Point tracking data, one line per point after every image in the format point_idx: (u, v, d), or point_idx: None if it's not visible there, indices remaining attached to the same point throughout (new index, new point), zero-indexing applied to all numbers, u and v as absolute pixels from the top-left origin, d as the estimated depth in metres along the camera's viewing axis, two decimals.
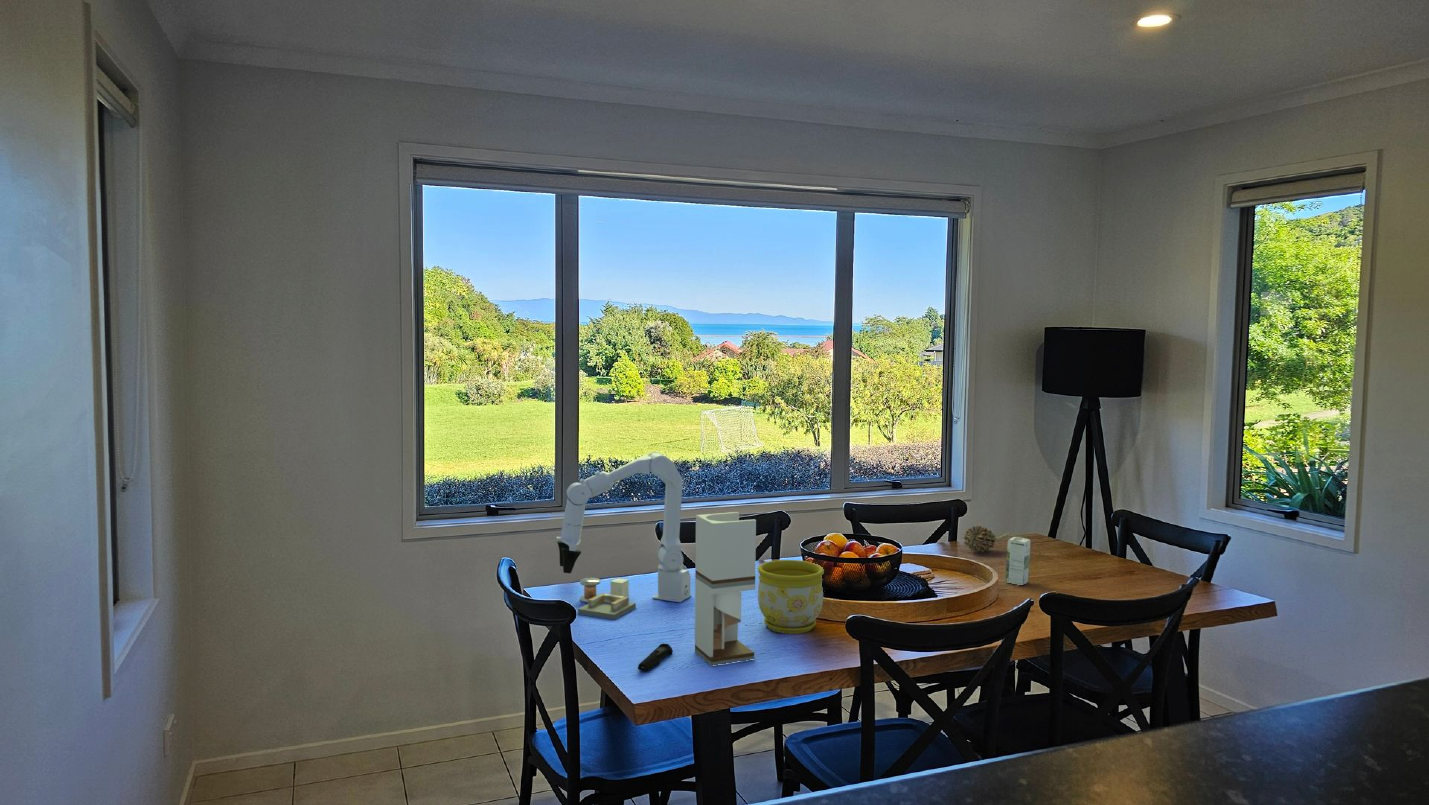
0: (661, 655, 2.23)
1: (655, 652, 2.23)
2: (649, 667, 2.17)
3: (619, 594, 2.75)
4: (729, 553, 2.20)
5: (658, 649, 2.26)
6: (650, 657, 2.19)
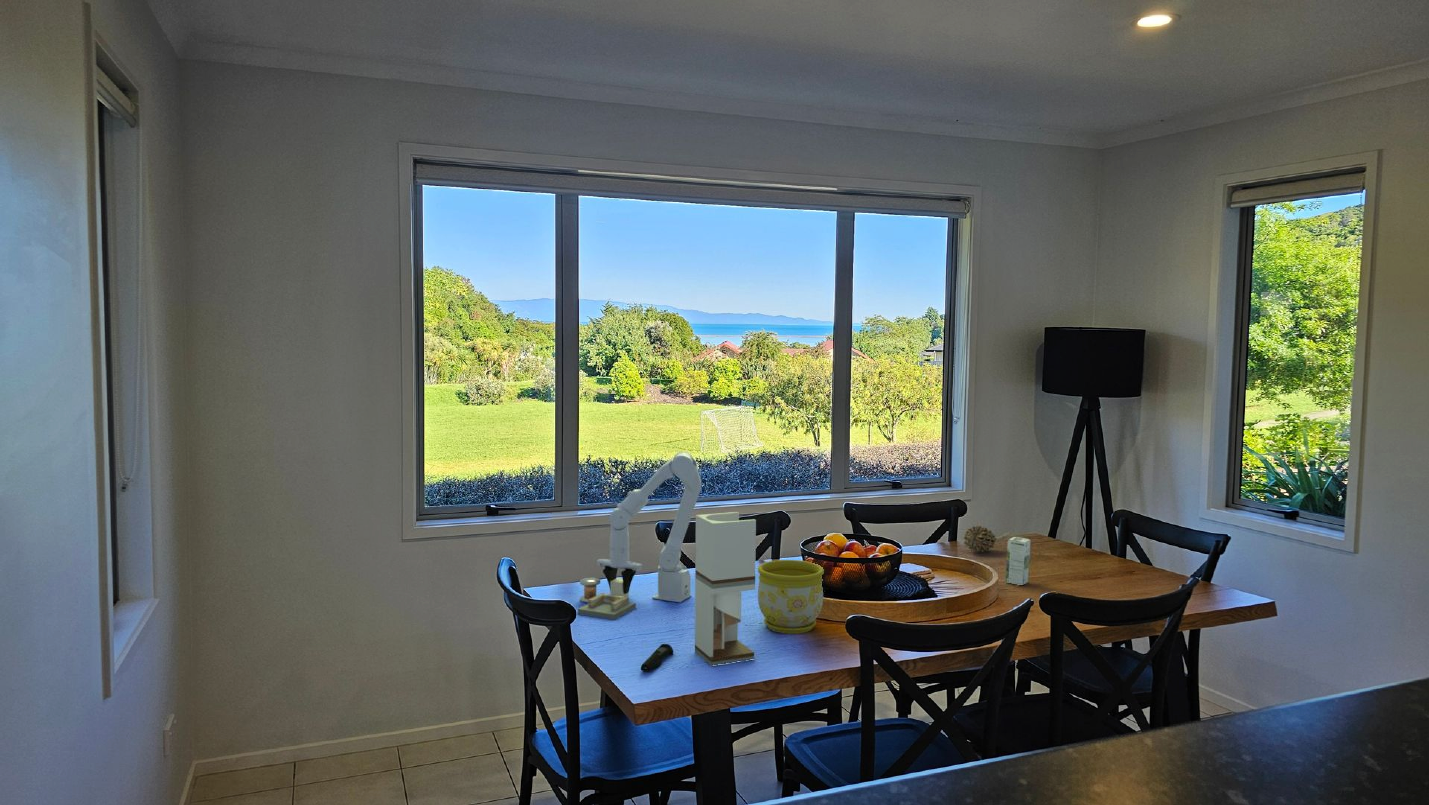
0: (663, 655, 2.23)
1: (657, 652, 2.23)
2: (652, 667, 2.16)
3: (619, 594, 2.75)
4: (729, 553, 2.20)
5: (659, 649, 2.25)
6: (652, 657, 2.19)
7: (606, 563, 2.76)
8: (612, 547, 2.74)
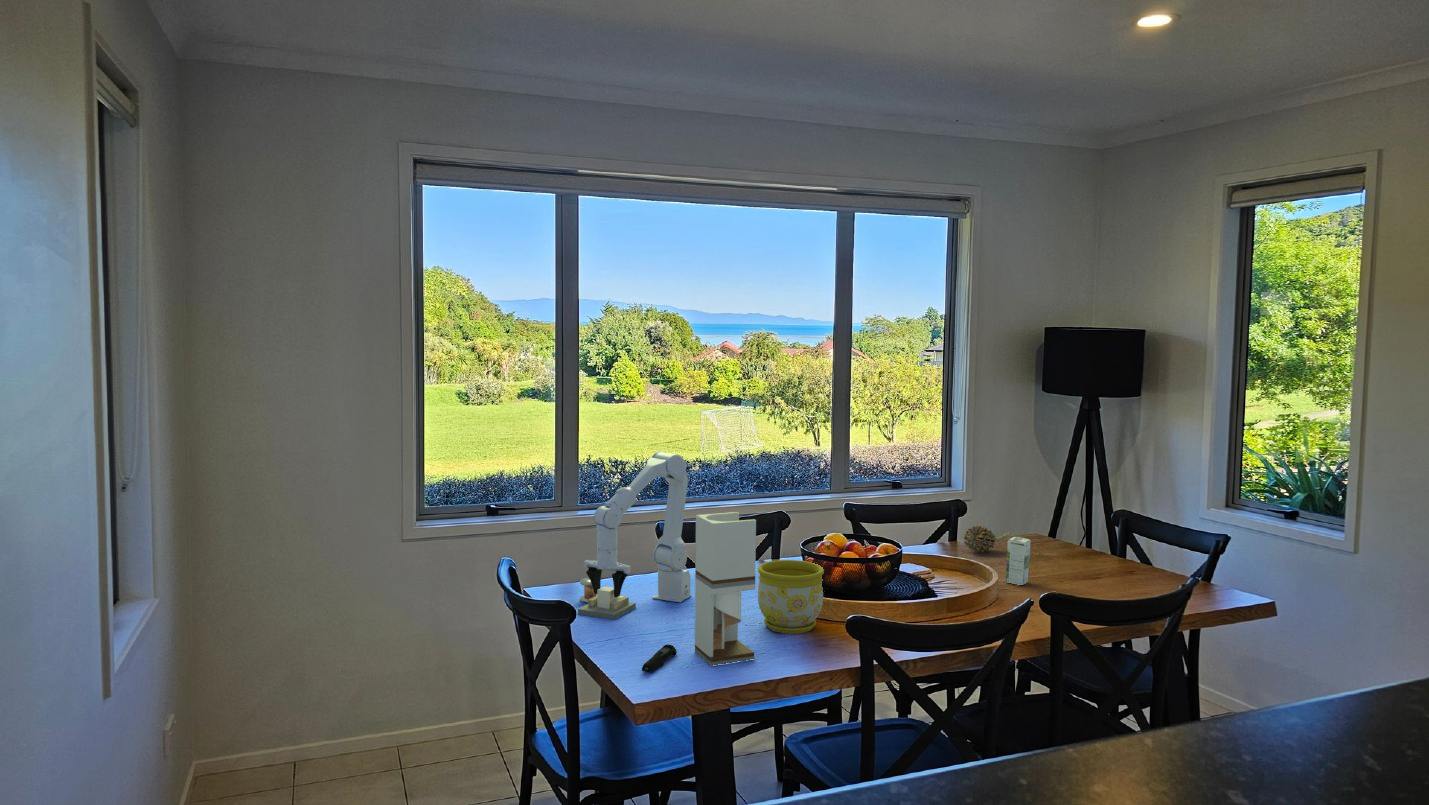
0: (665, 656, 2.22)
1: (659, 653, 2.22)
2: (653, 668, 2.16)
3: (606, 603, 2.60)
4: (729, 553, 2.20)
5: (662, 650, 2.25)
6: (654, 658, 2.19)
7: (593, 564, 2.61)
8: (605, 548, 2.59)
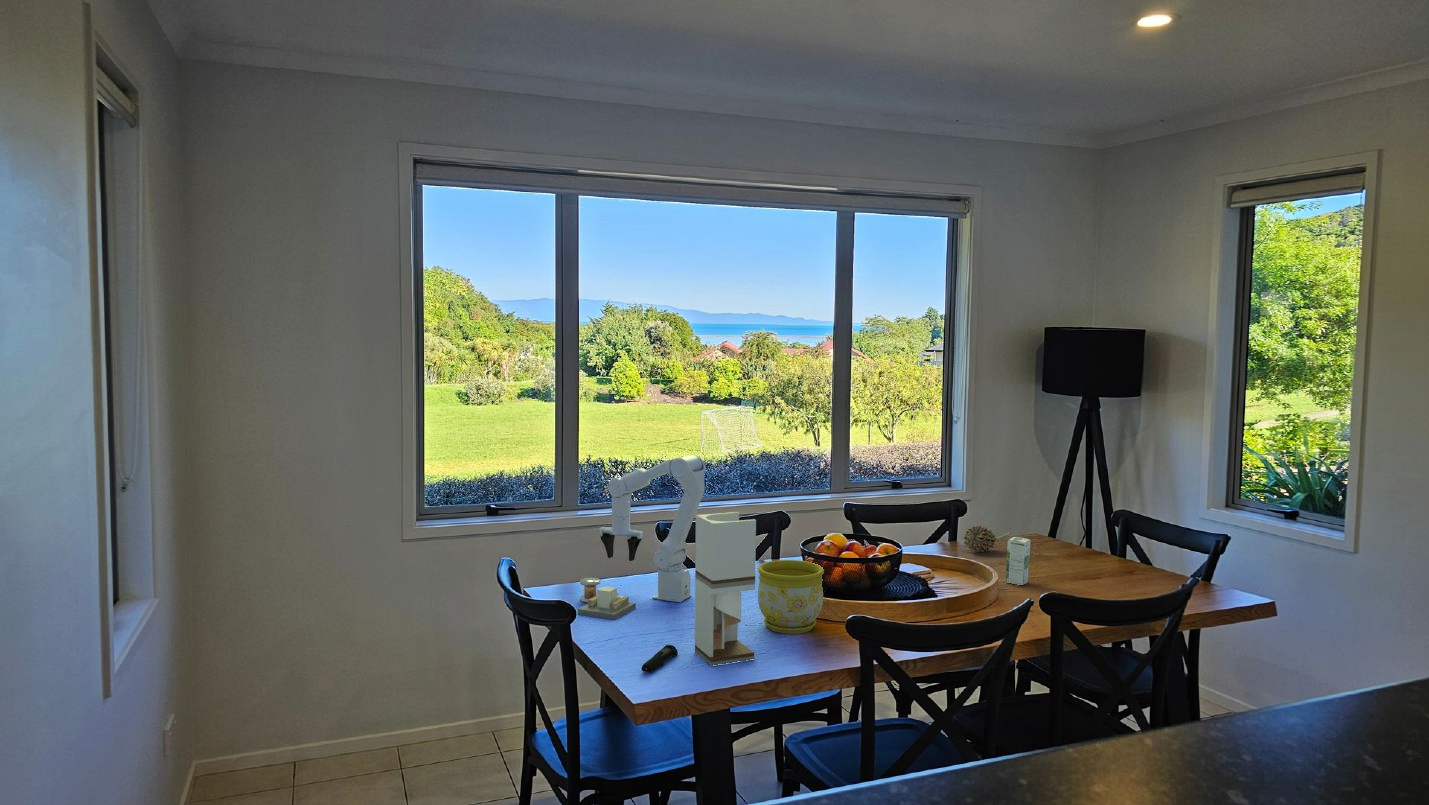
0: (665, 656, 2.22)
1: (659, 653, 2.22)
2: (653, 668, 2.16)
3: (606, 603, 2.60)
4: (729, 553, 2.20)
5: (663, 650, 2.25)
6: (654, 658, 2.19)
7: (608, 531, 2.84)
8: (612, 514, 2.83)
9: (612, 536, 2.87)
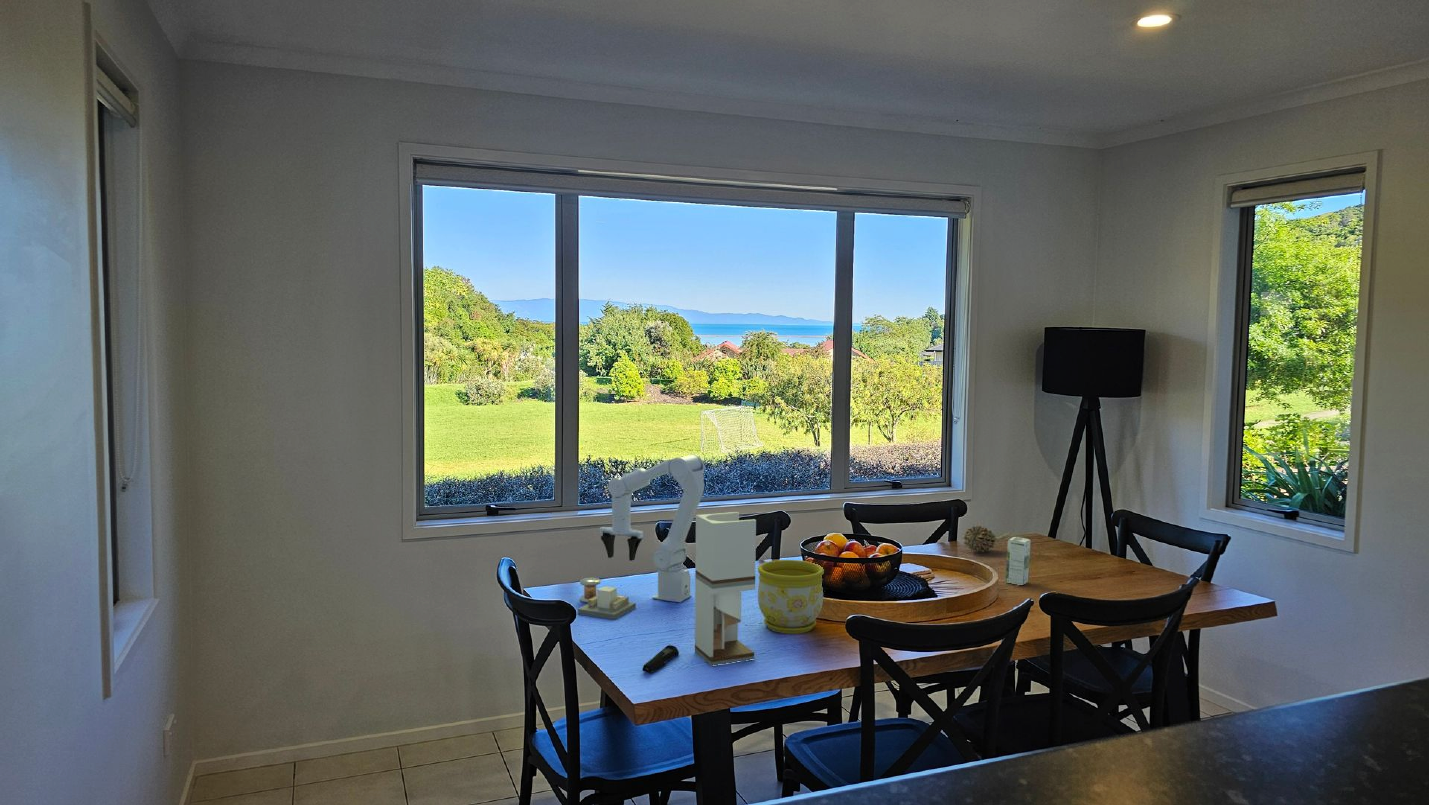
0: (666, 657, 2.22)
1: (660, 654, 2.22)
2: (654, 669, 2.16)
3: (606, 603, 2.60)
4: (729, 553, 2.20)
5: (664, 651, 2.25)
6: (655, 658, 2.18)
7: (608, 530, 2.84)
8: (612, 514, 2.84)
9: (612, 536, 2.87)
